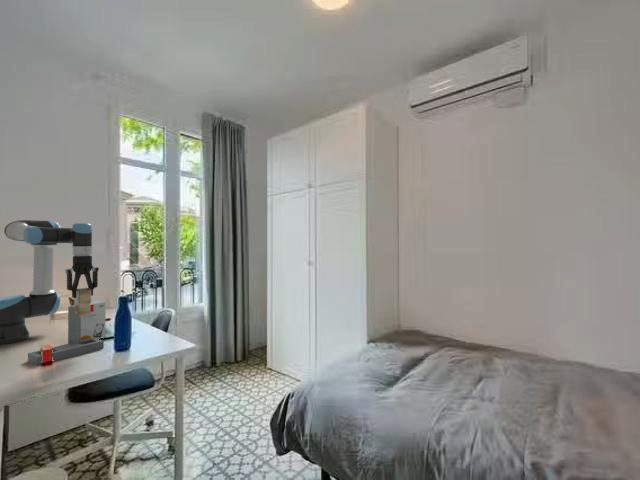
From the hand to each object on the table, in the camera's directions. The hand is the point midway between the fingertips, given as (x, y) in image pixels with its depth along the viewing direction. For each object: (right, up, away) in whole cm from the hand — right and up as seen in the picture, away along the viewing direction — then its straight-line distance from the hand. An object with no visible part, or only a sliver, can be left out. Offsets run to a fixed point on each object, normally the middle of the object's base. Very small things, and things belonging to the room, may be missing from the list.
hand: (82, 303), depth 157 cm
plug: (0, -6, 0) cm, 6 cm away
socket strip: (-3, -23, -6) cm, 23 cm away
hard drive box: (-8, -23, +14) cm, 28 cm away
